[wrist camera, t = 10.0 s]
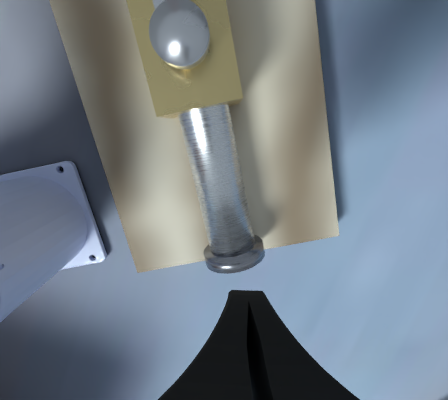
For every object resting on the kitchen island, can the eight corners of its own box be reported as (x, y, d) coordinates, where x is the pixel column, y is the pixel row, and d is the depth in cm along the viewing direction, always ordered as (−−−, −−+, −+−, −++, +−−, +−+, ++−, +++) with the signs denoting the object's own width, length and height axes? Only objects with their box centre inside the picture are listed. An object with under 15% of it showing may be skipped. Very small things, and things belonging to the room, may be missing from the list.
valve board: (143, 263, 22) (137, 272, 21) (13, -152, 15) (-10, -181, 14) (331, 228, 21) (339, 235, 20) (280, -230, 14) (286, -270, 13)
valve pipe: (205, 249, 21) (198, 293, 15) (99, -184, 14) (22, -369, 9) (263, 238, 20) (276, 279, 15) (182, -208, 14) (154, -414, 9)
